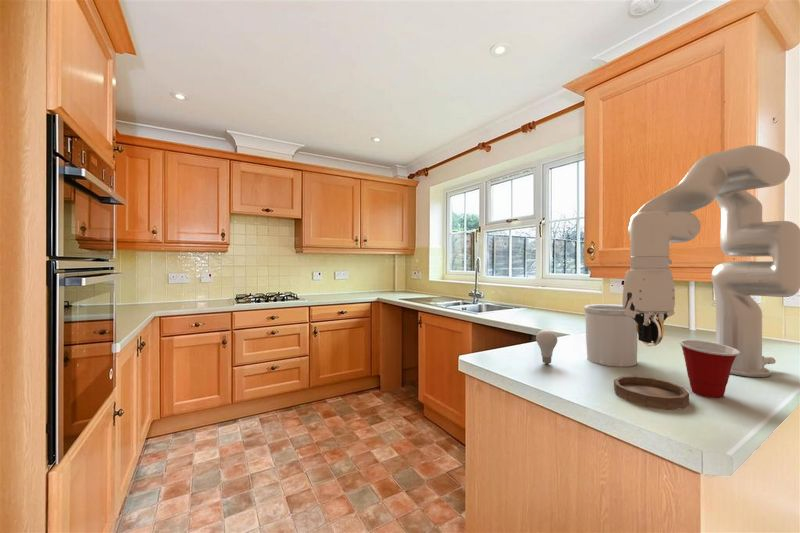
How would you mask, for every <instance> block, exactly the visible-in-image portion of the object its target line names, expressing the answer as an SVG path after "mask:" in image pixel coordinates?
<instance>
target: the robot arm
mask: <svg viewBox="0 0 800 533" xmlns="http://www.w3.org/2000/svg"><path fill="white" fill-rule="evenodd" d="M790 173H791V165H790V162H789V160H788V158H787V156H785V155H784V154H783V153H781V152H779V151H776V150H774V149H771V148H768V147H765V146H761V145H752V144H751V145H745V146H740V147H735V148H730V149H727V150H722V151H718V152H717V151H716V152H713V153H710V154H709V153H708V154H707V155H704V156H703V157H701V158H699V159H698V160H697V161H696V162H695V163H694V164H693V165H692V166H691V168H690V169H689V170H688V172H687V173H686V174H685V176H684V177H683V178H682V179H681V181H680V182H679V183H678V184H677V185H675V186H673V187H672V188H670V189H667V190H666V191H664V192H663V193H661V194H659V195H656V196H655V197H654V198H651V199H650V200H649V201H647V202H645V203H644V204H643V205H642V206H641V207H640V208H639V209H638V210H637V212H636V213H633V214H632V216H631V217H630V221H629V224H628V225H629V226H628V229H627V232H628V233H627V234H628V236H629V240H630V241H629V243H630V246H629V250H630V251H629V254H630V255H629V256H630V259H629V260H630V261H629V262H630V265H629V266H630V269H628V270H626V272H625V277H624V280H623V281H624V282H623V290H622V305H623V308H624V309H625V312H624V315H626V316H629V317H631V318H633V319H634V320H635V322H636V324H638V333H637V340H638V341H640V342H642V341H643V342H646V343H651V342H654V341H655V339H656V337H657V328H656V325H655V324H654V322H653V321H652V320H649V313H651V312H653V313H655V314H656V316H658V318H659V319H660V320H661V322H662V323H663V325H664V324H665V321H666V319H668V318H669V317H672V316H674V315H675V310H674V309H675V307H676V290H675V281H674V277H673V273H672V270H671V269H670V265H672V262H673V261H672V259H670V244H680V243H681V244H682V243H687V242H690V241H692V240H694V239H696V237H697V236H698V235H699V233H700V231H701V222H700V220H699V219H700V218H699V217H698V216H696V214H694V213H692V212H695V211H698V210H701V209H702V208H705V207H707V206H708V205H711V203H713V201H714V200H715V202H716V203H717V205H718V206H719V209H720V233H719V235H720V236H719V244H720V246H719V247H720V250H721V252H722V253H723V255H726V256H729V257H738V258H739V257H740V258H743V257H746V258H747V257H750V258H751V257H752V258H753V257H756V258H757V257H771V258H772V261H767V260H766V261H758V260H757V261H755V260H753V261H752V260H750V261H749V260H748V261H747V260H746V261H745V260H744V261H743V260H741V261H739V260H738V261H737V260H736V261H735V260H734V261H726V262H722V263H718V264H717V265H716V266H714V268H713V269H712V271H711V283H712V286H713V287H712V288H713V291H714V297H715V298H714V299H715V343H717V344H721V345H725V346H729V347H732V348H734V349H737V350H738V351H740V353H739V354H738V355H737V356H736V357H735V359H734V362H733V364H732V367H731V371H730V375H731V374H732V375H736V376H742V377H751V378H766V377H770V375H771V371H770V369H768V368H766V367H765V366H766V365H774V364H776V362H777V361H776V359H775V358H774V357H772V356H767V357H765V356H764V355H763V312H762V308H761V307H760V306H759V304H758V303H757V301H756V300H754V299H753V297H754V296H758V297H759V296H761V297H772V298H774V297H775V298H789V297H792V296H795V295H797V294H798V292H799V291H800V227H799V225H797V223H794V222H792V221H789V220H788V221H787V220H773V221H763V205H762V203H761V201H760V200H759V199H758V198H757V197H756V196H754V195H753V194H751V193H750V192H749V190H756V189H764V188H770V187H775V186H779V185H780V184H783V183H784V182H785V181H787V179H788V177H789V176H790ZM752 296H753V297H752ZM634 310H635V312H634ZM661 341H662V340H661ZM661 341H660V343H661ZM643 342H642V343H643Z"/></svg>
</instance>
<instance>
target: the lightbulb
mask: <svg viewBox="0 0 800 533" xmlns="http://www.w3.org/2000/svg"><path fill="white" fill-rule="evenodd" d="M535 340H536V343H537V345H538V346H539V349H540V353H541V360H542V363H543V364H545V365H549V364H552V357H553V352H554V350H555V347H556V346H557V344H558V337H557V335H556V333H555V332H554V331H553V330H550V329H542V330H540V331H538V333H536V337H535Z"/></svg>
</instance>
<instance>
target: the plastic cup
mask: <svg viewBox="0 0 800 533" xmlns="http://www.w3.org/2000/svg"><path fill="white" fill-rule="evenodd" d="M679 345H680V346H681V349H682V353H683V357H684V363H685V367H686V374H687V378H688V381H689V385H690V389H691V391H692V393H693V394H695V395H698V396H701V397H705V398H711V399H722V398H724V396H725V393H726V388H727V385H728V382H729V380H730V379H729V378H730V375H731V374H730V371H731V367H732V364H733V362H734V359H735V357H736V356H737V355H738V354H739V353H740V351H738V350H737V349H734V348H732V347H729V346H725V345H721V344H717V343H716V342H712V341H711V342H710V341H707V340H705V341H704V340H696V339H694V340H693V339H683V340H682V339H681V340H680V341H679Z"/></svg>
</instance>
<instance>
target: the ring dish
mask: <svg viewBox="0 0 800 533" xmlns="http://www.w3.org/2000/svg"><path fill="white" fill-rule="evenodd" d="M686 389H687V388H685V387H683V386H681V385H678V384H676V383H673V382H671V381H668V380H663V379H659V378H655V377H654V378H653V377H650V376H649V377H647V376H637V375H627V376H625V375H624V376H618V377H616V378H614V379H613V390H614V392H615V395H616V396H618V397H620V398H621V399H623V400H625V401H627V402H629V403H633V404H636V405H639V406H643V407H646V408H653V409H654V408H655V409H661V410H670V411H671V410H683V409H685V408H687V407H688V406H689V405H690V392H688V390H686Z"/></svg>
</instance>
